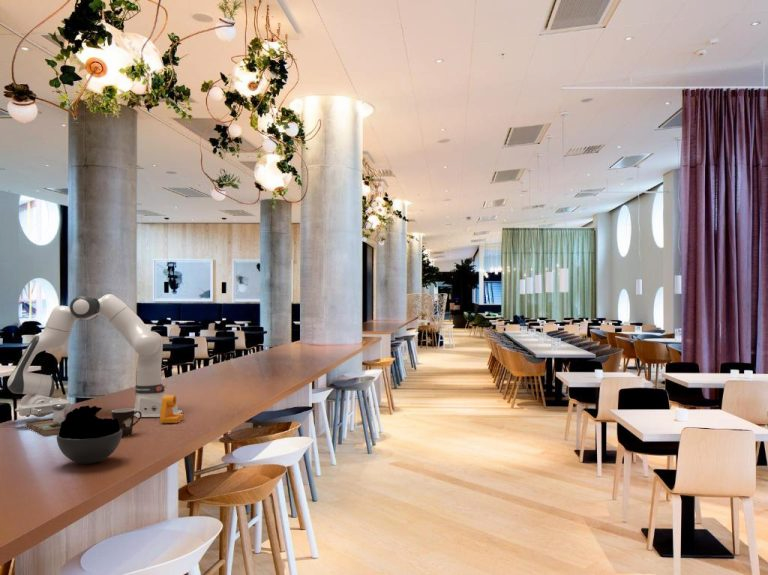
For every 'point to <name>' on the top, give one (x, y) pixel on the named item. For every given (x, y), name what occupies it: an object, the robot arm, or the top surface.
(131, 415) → the coffee mug
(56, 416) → the glass spice jar
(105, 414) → the top surface
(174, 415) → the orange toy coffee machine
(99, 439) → the bowl of black rocks
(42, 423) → the hole board
